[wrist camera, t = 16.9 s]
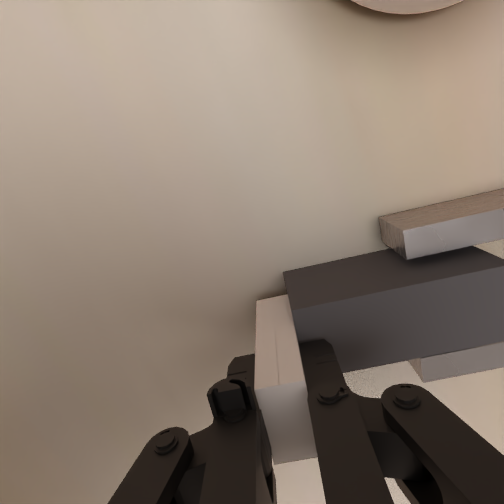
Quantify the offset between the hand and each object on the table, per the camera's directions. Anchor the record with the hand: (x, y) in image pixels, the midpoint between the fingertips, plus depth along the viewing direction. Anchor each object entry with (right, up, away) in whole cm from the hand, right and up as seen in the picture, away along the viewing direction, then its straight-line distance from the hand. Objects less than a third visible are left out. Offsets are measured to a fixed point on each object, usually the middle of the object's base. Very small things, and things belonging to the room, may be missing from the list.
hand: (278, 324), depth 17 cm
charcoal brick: (+4, +2, +1) cm, 5 cm away
